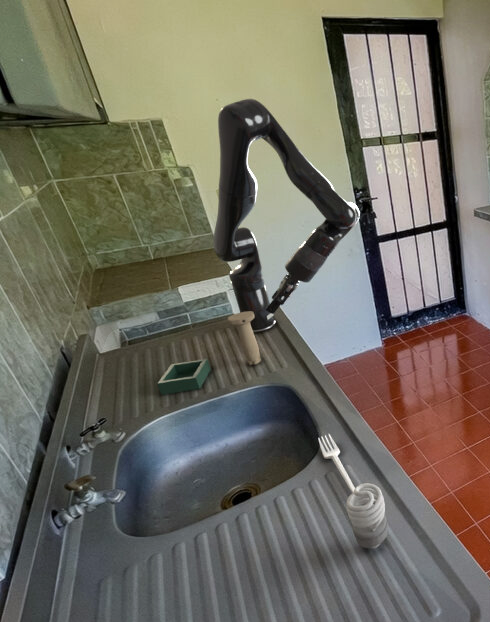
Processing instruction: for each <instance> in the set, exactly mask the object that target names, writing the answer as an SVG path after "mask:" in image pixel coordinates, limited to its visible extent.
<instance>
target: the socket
mask: <svg viewBox="0 0 490 622" xmlns="http://www.w3.org/2000/svg"><path fill="white" fill-rule="evenodd" d="M211 370H212V369H211V365H210V363H209V359H208V358H203V359H197V360H190V361H189V360H188V361H183V362H182V361H181V362H175V363H171V364H170V366H169V367H168V368H167V370H166V371H165V372H164V373H163V375H162V376H161V378H160V379H159V380H158V382H157V383H156V384H157V387H158V389H159V392H160V394H161V395H169V394H176V393H181V392H187V391H194V390H200V389H201V388H202V386H203V384H204V382H205V381H206V379H207V377H208V375H209V374H210V372H211Z"/></svg>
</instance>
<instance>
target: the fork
mask: <svg viewBox="0 0 490 622" xmlns="http://www.w3.org/2000/svg"><path fill="white" fill-rule="evenodd" d="M327 434H328V437H329V439H328V437H327V435H326V434H324V437H323V436H320V437H321V439H320V437H317V438H318V443H319V447H320V451H321V453H322V456H323V458H324V459H327V460H328V459H331V460H332V461H333V463H334V465H335V466H336V468H337V470H338V471H339V473H340V474H341V476H342V478H343V480H344V481H345V483H346V485H347V487H348V488H349V490H350V491H351V494H352V493H354V490H355V488H356V487H355V485H354V483H353V482H352V480H351V477H350V476H349V475H348V472H347V470H346V469H345V467H344V465H343V463H342V462H341V460H340V458H339V455H340V453H341V451H340V449H339V447H338V445H337V444H336V442H335V441H334V439H333V438H332V436H331V433H327ZM324 438H325V439H324ZM325 440H326V441H325ZM329 440H330V441H329ZM330 442H331V443H330ZM355 497H356V496H355Z"/></svg>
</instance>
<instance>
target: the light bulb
mask: <svg viewBox="0 0 490 622" xmlns="http://www.w3.org/2000/svg"><path fill="white" fill-rule="evenodd" d="M355 496H356V497H355ZM384 498H385V497H384V496H383V493H382V490H381V488H379V486H378V485H375V484H373V483H368V482H366V483H361V484H358V485H357V486H356V487H355V490H354V493H352V492H351V494H350V495H349V496H348V498H347V500H346V511H347V514H348V519H349V520H350V522H351V524H352V532H353V535H354V539H355V541H356V543H357V544H358V545H359V547H362V548H364V549H376V548H377V547H379V546H380V545H381V544H382V543H383V542H384V541H385V539H387V536H388V530H389V529H388V519H387V516H386V511H385V508H386V505H385V499H384Z"/></svg>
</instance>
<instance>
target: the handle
mask: <svg viewBox="0 0 490 622" xmlns="http://www.w3.org/2000/svg"><path fill="white" fill-rule="evenodd" d="M254 317H255V316H254V313H253V312H252V311H247V312H241V313H240V312H237V313H234V314H232V315H230V316H228V317H227V321H228V323H229V325H232V326H236V328H237V333H238V336H239V342H240V345H241V349H242V353H243V356H244V357H245V359H246V361H247V363H248V364H249V366H253V365H254V366H256V365H258V364H259V363H261V361H262V360H261V355H260V354H261V353H260V348H259V345H258V341H257V339H256V336H255V333H253V330H252V328H251V324H250V321H251V320H253V319H254Z"/></svg>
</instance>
